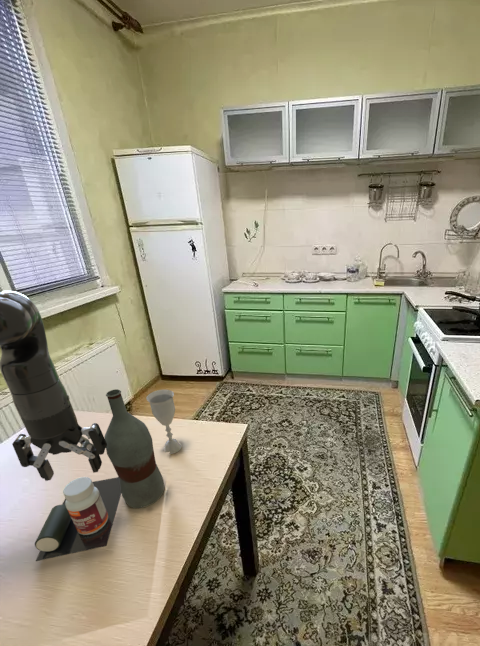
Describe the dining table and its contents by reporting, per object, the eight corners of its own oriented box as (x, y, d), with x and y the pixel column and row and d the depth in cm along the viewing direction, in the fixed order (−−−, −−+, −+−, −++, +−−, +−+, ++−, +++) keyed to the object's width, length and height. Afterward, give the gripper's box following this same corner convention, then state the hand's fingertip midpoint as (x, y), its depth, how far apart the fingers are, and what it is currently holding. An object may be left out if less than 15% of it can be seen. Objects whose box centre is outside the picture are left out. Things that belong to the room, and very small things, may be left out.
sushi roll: (36, 553, 65) (32, 539, 63) (53, 519, 72) (49, 504, 70) (61, 550, 66) (57, 536, 64) (75, 516, 73) (72, 502, 71)
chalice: (154, 452, 94) (140, 399, 86) (170, 438, 99) (158, 387, 91) (175, 458, 91) (162, 404, 83) (190, 443, 97) (179, 392, 89)
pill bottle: (74, 540, 68) (55, 502, 63) (80, 516, 73) (63, 479, 68) (107, 530, 69) (91, 493, 64) (110, 508, 75) (96, 471, 70)
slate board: (38, 565, 65) (35, 561, 64) (73, 489, 82) (71, 485, 81) (108, 550, 67) (106, 545, 66) (127, 479, 84) (126, 475, 84)
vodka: (124, 518, 74) (83, 409, 60) (126, 490, 81) (90, 386, 68) (167, 505, 77) (137, 398, 63) (165, 478, 84) (138, 378, 71)
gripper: (-14, 425, 53) (25, 495, 60) (82, 411, 56) (107, 480, 63) (10, 401, 60) (42, 467, 67) (94, 390, 62) (116, 454, 70)
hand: (74, 473), depth 65 cm, fingers open, 8 cm apart
